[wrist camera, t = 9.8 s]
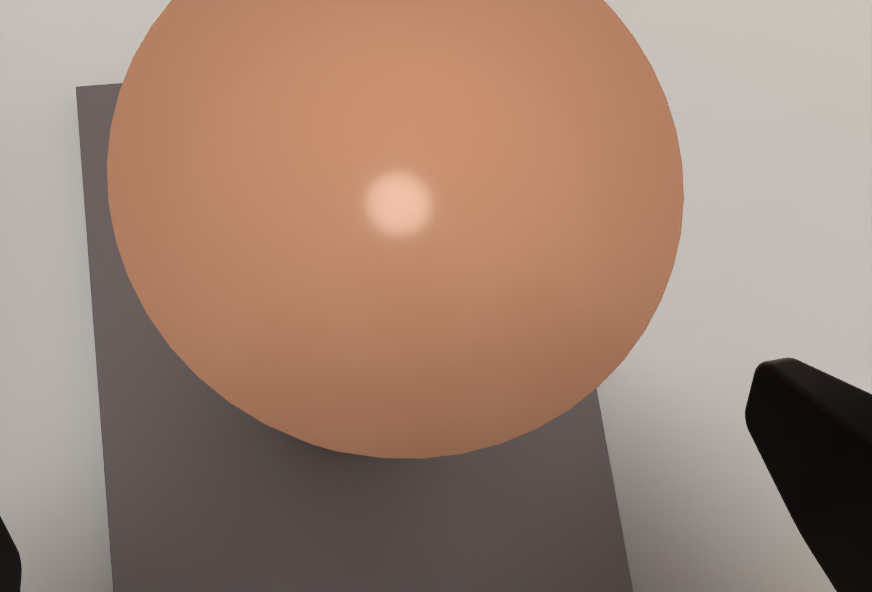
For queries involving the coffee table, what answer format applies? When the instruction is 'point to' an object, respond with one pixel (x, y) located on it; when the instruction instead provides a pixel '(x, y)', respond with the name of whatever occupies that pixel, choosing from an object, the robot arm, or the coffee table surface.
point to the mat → (318, 474)
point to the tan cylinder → (396, 210)
